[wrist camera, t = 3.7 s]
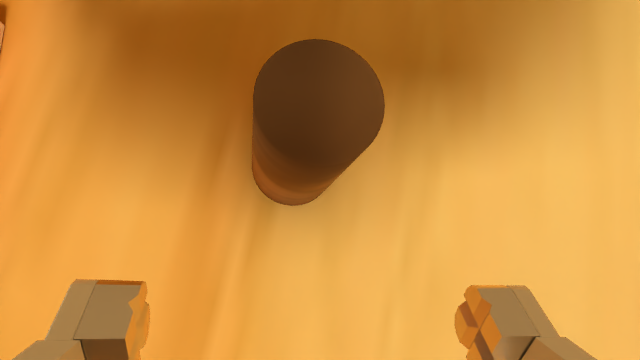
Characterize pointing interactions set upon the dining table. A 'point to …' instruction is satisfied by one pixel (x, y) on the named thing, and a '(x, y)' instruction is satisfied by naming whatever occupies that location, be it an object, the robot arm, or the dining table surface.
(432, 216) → the dining table surface
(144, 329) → the robot arm
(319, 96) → the walnut peg
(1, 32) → the plate
